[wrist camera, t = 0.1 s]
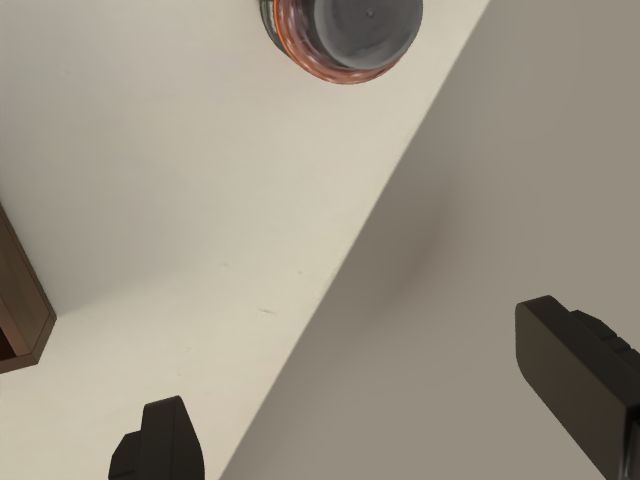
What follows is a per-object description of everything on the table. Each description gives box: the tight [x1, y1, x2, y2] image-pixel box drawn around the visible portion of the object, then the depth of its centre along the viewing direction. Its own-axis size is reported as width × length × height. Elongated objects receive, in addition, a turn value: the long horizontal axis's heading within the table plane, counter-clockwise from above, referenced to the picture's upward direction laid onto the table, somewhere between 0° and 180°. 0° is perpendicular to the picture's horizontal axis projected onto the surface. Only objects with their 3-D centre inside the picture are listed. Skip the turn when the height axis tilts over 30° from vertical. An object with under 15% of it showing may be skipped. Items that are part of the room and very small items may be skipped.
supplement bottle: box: [260, 0, 423, 84], centre depth 24 cm, size 6×6×11 cm
